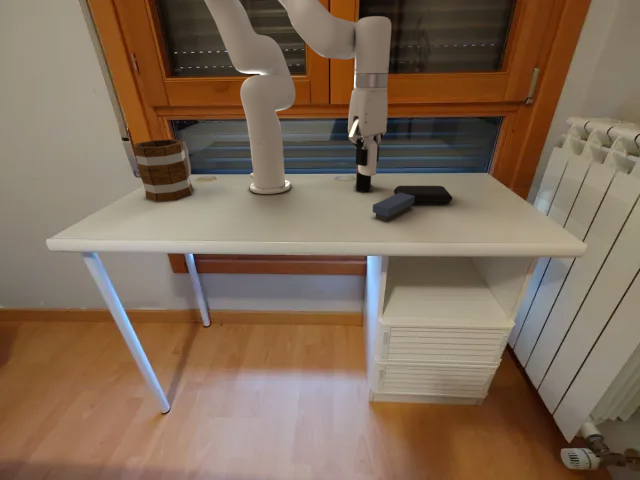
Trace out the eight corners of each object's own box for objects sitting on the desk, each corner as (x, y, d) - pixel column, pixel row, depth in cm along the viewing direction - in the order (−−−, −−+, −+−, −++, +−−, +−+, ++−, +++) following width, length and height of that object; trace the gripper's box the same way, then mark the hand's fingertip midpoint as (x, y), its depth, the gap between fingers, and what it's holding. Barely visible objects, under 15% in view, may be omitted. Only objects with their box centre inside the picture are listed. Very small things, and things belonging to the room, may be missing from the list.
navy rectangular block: (387, 223, 75) (388, 209, 74) (372, 218, 78) (372, 204, 76) (413, 209, 83) (415, 196, 81) (398, 205, 86) (399, 192, 84)
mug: (178, 202, 90) (166, 148, 83) (135, 200, 92) (120, 148, 85) (210, 182, 107) (202, 136, 100) (174, 180, 109) (163, 135, 102)
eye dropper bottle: (374, 170, 84) (377, 122, 79) (376, 176, 79) (379, 125, 74) (358, 170, 85) (359, 122, 79) (358, 176, 80) (360, 126, 74)
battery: (370, 185, 101) (371, 153, 97) (370, 192, 95) (372, 158, 91) (356, 184, 102) (357, 153, 97) (355, 191, 96) (356, 158, 91)
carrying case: (442, 193, 94) (391, 192, 95) (444, 182, 92) (392, 182, 93) (453, 206, 84) (397, 205, 85) (455, 195, 83) (398, 195, 84)
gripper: (378, 82, 80) (374, 155, 89) (333, 84, 70) (334, 167, 78) (404, 81, 75) (397, 159, 84) (361, 84, 65) (358, 172, 73)
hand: (367, 162), depth 81 cm, fingers closed on eye dropper bottle, 4 cm apart
